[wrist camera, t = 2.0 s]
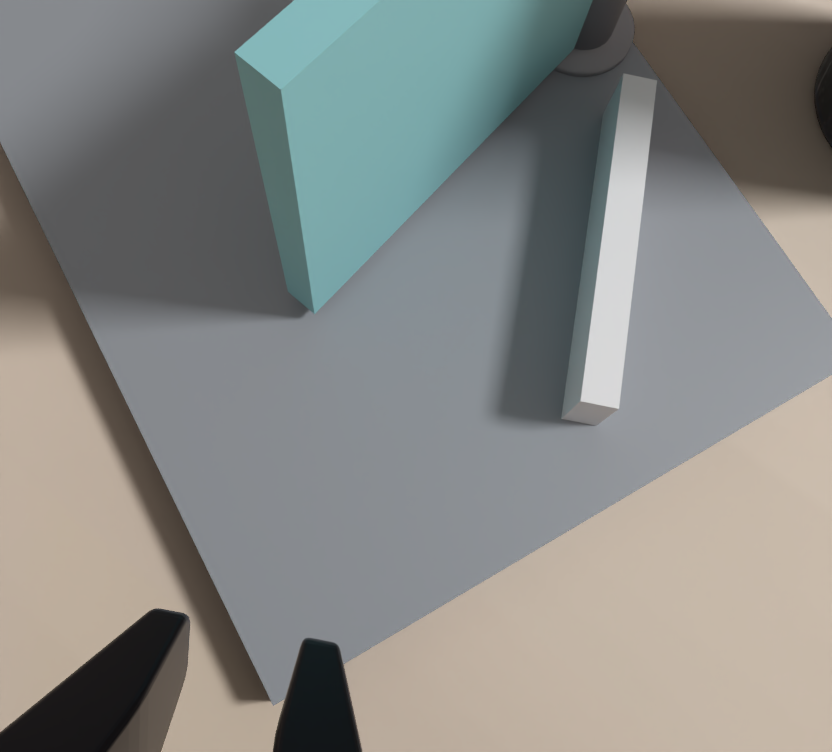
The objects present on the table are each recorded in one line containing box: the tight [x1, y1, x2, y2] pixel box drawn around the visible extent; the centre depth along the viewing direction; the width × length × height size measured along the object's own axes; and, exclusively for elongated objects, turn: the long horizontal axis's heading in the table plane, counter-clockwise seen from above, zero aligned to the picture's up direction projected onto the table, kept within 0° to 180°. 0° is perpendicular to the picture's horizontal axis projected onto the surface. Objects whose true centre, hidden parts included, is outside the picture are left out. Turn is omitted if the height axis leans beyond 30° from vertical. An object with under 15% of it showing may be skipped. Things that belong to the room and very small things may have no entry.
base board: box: [0, 0, 832, 706], centre depth 23 cm, size 19×24×3 cm
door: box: [234, 0, 627, 314], centre depth 19 cm, size 14×3×10 cm, turn 139°
